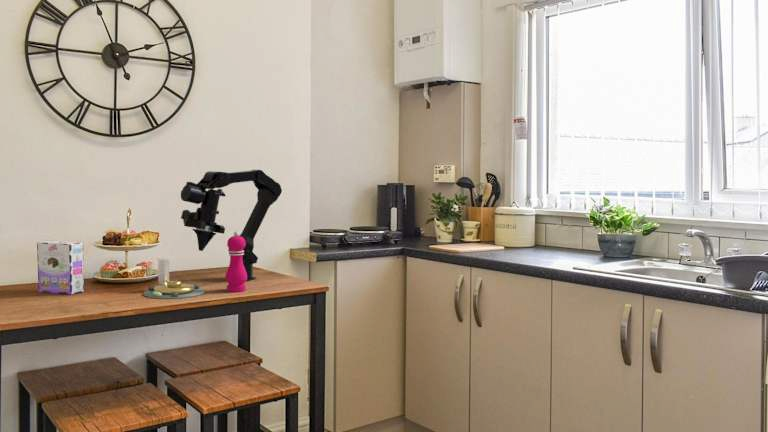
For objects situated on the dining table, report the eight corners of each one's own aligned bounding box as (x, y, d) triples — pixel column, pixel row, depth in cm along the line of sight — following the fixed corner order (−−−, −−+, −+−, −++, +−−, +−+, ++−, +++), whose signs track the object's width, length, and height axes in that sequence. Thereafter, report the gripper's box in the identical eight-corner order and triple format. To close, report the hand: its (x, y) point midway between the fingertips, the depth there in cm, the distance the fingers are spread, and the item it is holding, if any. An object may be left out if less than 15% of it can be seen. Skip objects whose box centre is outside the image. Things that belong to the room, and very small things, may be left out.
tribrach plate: (216, 293, 219) (216, 288, 219) (163, 301, 205) (163, 295, 205) (184, 285, 231) (184, 280, 231) (132, 292, 217) (132, 287, 217)
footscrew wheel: (202, 290, 219) (202, 262, 218) (167, 295, 209) (166, 265, 208) (177, 284, 228) (177, 257, 228) (143, 289, 219) (142, 260, 218)
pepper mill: (241, 293, 221) (242, 232, 219) (221, 291, 222) (221, 231, 221) (250, 289, 228) (250, 230, 226) (230, 288, 229) (230, 229, 228)
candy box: (84, 292, 217) (84, 241, 216) (70, 295, 212) (70, 243, 210) (51, 288, 222) (50, 239, 220) (37, 291, 216) (36, 241, 215)
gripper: (201, 207, 245) (193, 249, 243) (174, 199, 227) (165, 245, 225) (229, 211, 242) (221, 253, 241) (204, 204, 224) (195, 250, 223)
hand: (200, 250), depth 232 cm, fingers closed
